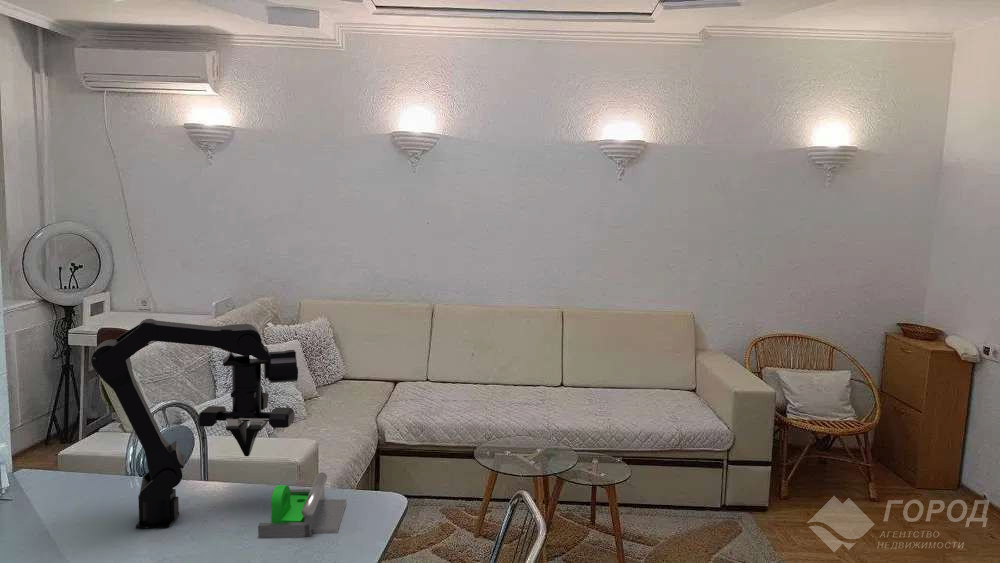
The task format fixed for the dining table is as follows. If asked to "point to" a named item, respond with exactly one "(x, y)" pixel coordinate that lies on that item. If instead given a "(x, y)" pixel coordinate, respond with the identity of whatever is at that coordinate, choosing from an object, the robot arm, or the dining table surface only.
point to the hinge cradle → (309, 514)
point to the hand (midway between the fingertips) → (247, 455)
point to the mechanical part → (286, 506)
